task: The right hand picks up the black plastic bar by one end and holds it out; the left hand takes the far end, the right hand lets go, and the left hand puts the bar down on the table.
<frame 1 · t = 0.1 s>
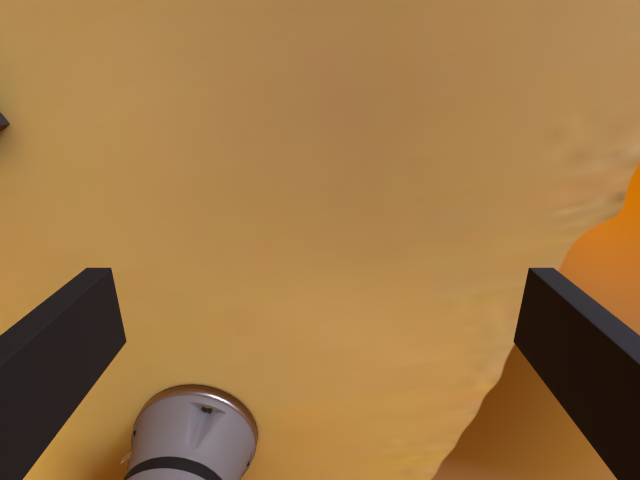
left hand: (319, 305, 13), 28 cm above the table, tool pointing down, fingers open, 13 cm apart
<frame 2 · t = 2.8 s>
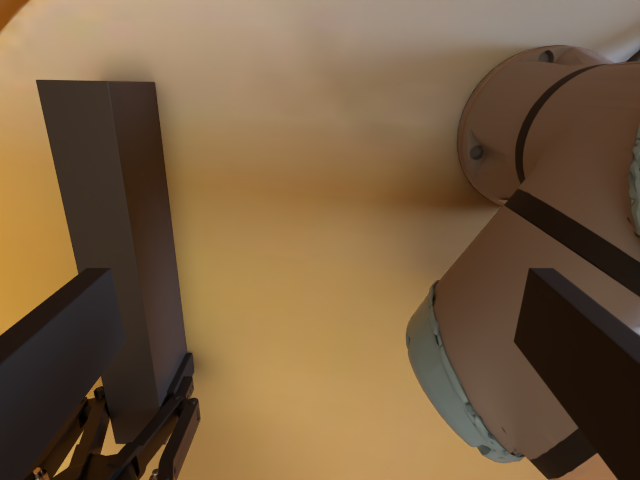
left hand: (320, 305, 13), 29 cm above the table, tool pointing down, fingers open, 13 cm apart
right hand: (165, 362, 49), fingers closed on bar, 5 cm apart
bar: (151, 255, 44), on the table, touching right hand
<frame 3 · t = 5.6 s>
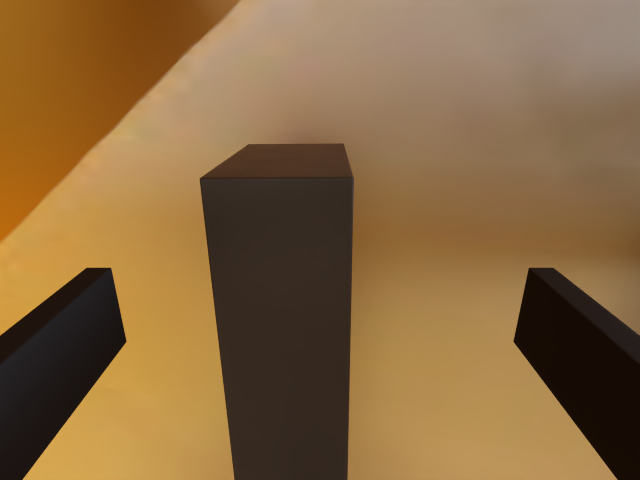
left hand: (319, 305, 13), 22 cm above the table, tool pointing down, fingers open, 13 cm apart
bar: (303, 401, 28), point 11 cm above the table, touching right hand
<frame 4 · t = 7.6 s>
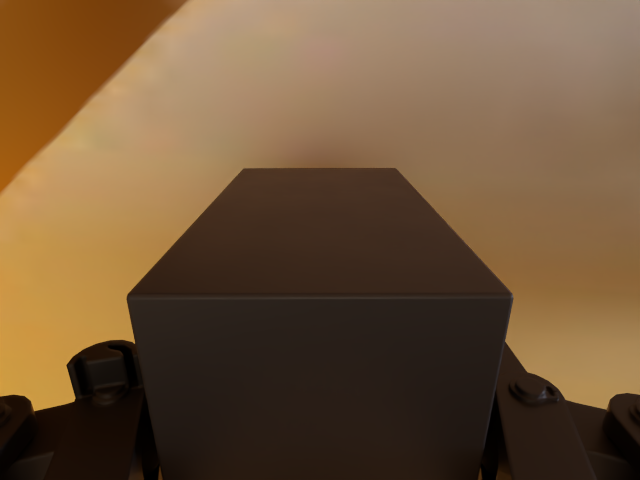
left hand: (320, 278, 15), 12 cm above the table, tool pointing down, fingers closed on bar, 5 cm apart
when the right hand's fingers open (12 cm above the table, at t = 8.2 s): bar stays where it is, held by the left hand.
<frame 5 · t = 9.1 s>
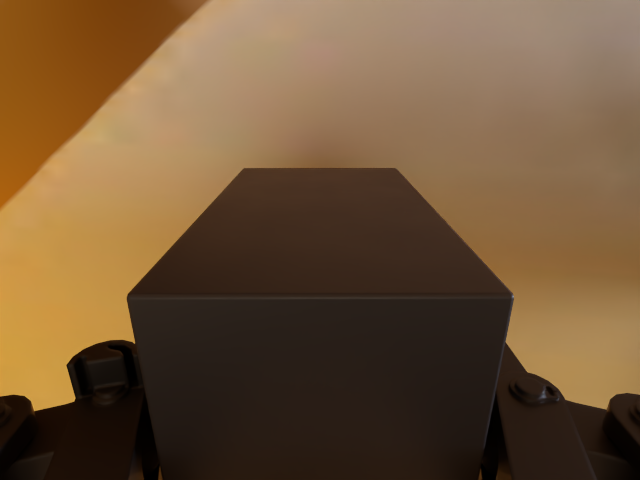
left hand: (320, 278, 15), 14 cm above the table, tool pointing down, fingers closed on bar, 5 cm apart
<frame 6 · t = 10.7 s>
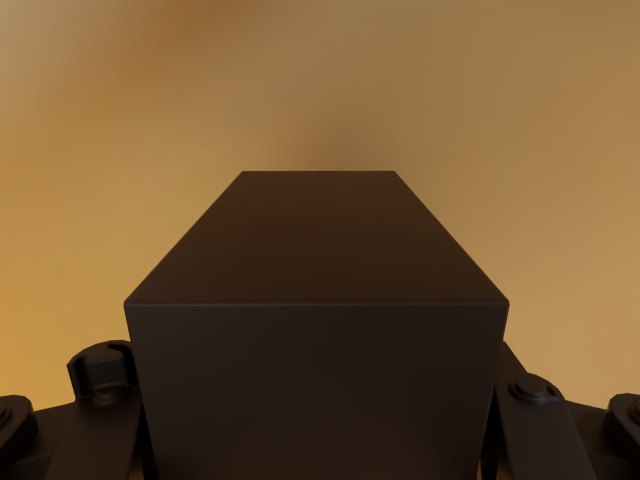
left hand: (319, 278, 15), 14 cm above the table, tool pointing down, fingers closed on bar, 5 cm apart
when the left hand's fingers open (2 cm above the table, at t = 14.2 s): bar drops 1 cm, on the table.
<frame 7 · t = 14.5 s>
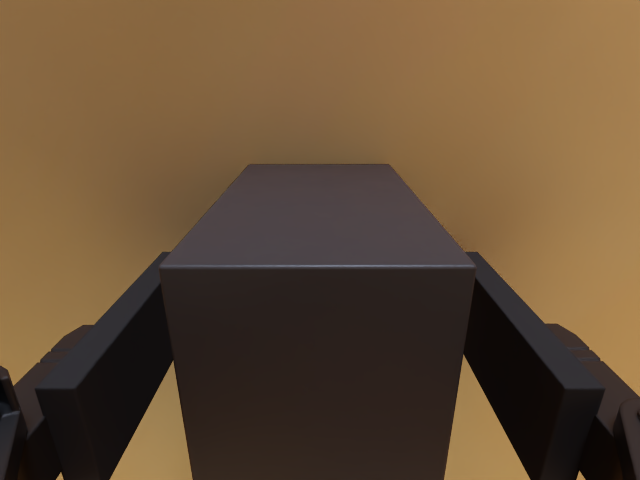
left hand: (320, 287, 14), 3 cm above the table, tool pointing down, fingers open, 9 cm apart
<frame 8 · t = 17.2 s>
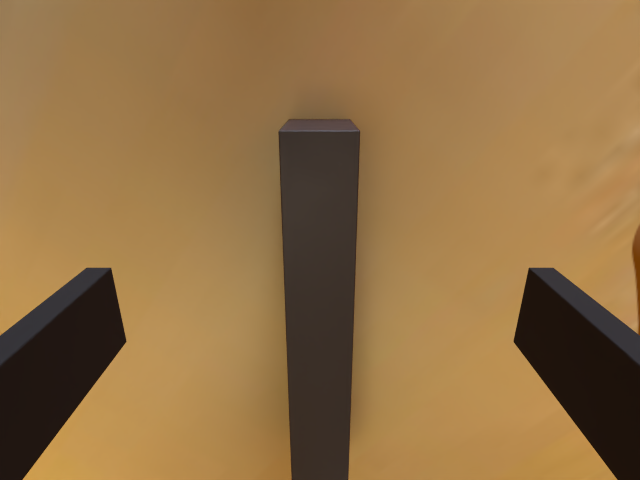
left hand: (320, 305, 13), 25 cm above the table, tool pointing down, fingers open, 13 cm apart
bar: (319, 301, 41), on the table
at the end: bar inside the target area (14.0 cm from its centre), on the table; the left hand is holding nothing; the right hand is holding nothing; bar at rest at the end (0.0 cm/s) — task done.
